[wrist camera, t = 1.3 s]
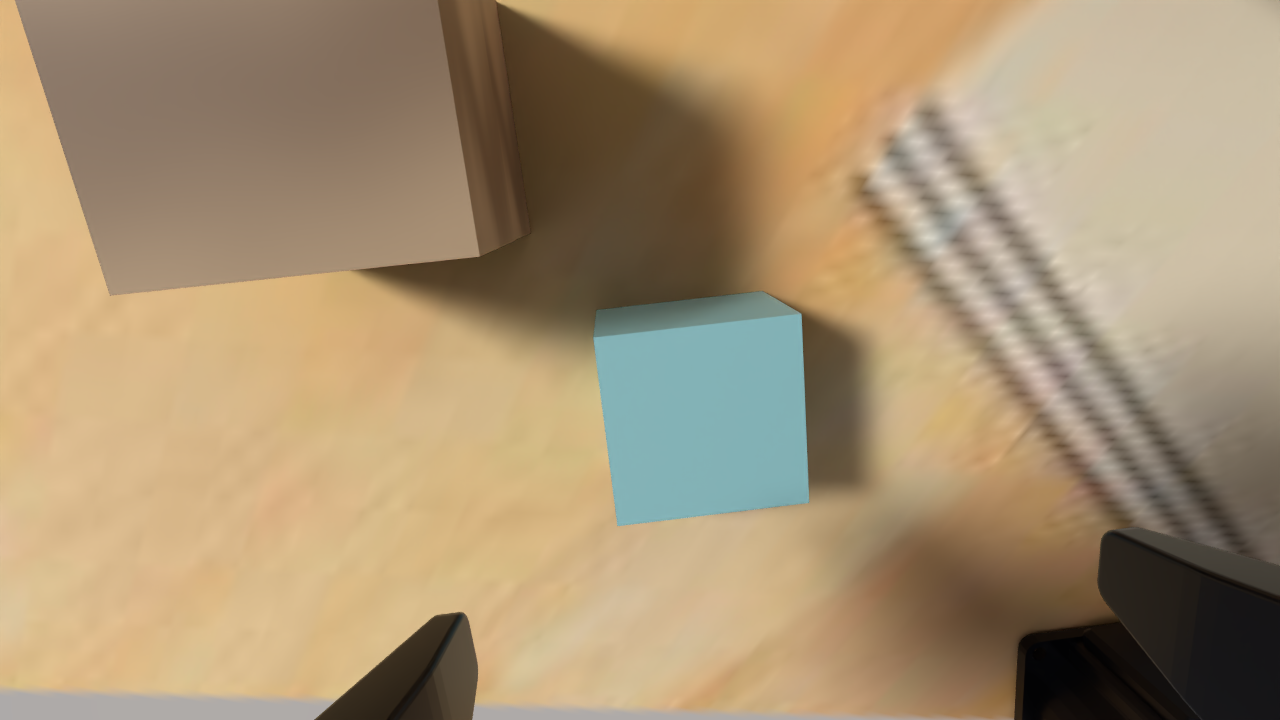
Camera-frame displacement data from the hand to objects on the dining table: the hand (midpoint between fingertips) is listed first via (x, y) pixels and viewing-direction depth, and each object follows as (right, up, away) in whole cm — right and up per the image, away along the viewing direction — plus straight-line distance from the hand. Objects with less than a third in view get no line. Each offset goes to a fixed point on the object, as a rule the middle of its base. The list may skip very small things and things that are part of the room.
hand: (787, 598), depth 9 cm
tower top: (-8, +9, +5) cm, 13 cm away
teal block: (-1, +3, +11) cm, 11 cm away
